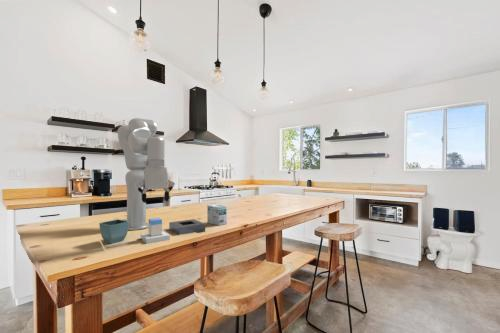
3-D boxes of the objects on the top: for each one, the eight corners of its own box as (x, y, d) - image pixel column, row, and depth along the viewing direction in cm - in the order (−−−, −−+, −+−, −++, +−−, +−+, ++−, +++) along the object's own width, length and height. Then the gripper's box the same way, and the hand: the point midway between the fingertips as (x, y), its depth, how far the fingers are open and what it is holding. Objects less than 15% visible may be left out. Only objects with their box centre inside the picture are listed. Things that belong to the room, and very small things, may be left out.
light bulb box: (227, 223, 145) (227, 205, 145) (218, 225, 140) (218, 207, 140) (215, 221, 152) (215, 203, 152) (206, 222, 147) (206, 205, 147)
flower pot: (109, 246, 102) (109, 225, 102) (98, 243, 107) (98, 222, 107) (129, 241, 110) (129, 221, 110) (118, 238, 114) (118, 219, 114)
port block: (179, 235, 119) (179, 227, 119) (169, 229, 130) (169, 221, 130) (205, 231, 127) (205, 223, 127) (193, 226, 138) (193, 218, 138)
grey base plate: (146, 244, 105) (146, 239, 105) (140, 239, 113) (140, 233, 113) (169, 240, 111) (169, 235, 111) (162, 235, 119) (162, 230, 119)
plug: (151, 241, 109) (151, 220, 109) (148, 238, 112) (148, 219, 112) (161, 239, 111) (161, 219, 112) (158, 236, 115) (158, 217, 115)
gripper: (137, 163, 104) (137, 204, 103) (177, 164, 114) (177, 200, 114) (133, 164, 110) (133, 202, 109) (171, 164, 120) (171, 199, 120)
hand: (155, 201), depth 112 cm, fingers open, 9 cm apart
